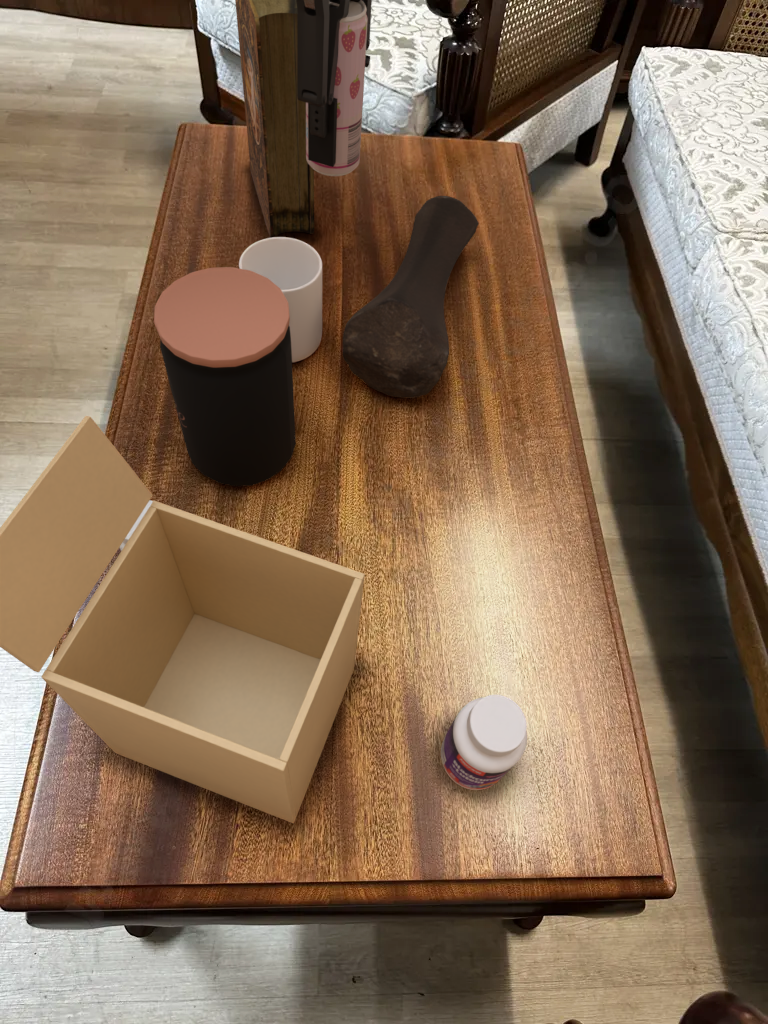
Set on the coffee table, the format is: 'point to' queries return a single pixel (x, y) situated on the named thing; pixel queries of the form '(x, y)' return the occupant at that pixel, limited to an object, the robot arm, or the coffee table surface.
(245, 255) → the mug
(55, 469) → the flap
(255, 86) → the book
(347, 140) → the beverage can
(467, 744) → the pill bottle
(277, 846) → the coffee table surface
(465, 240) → the dark brown bone
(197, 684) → the carton
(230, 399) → the coffee jar
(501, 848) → the coffee table surface
